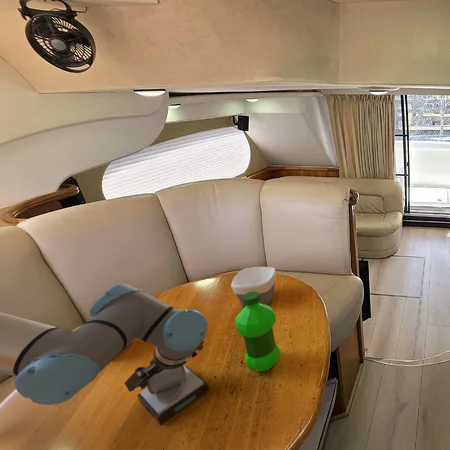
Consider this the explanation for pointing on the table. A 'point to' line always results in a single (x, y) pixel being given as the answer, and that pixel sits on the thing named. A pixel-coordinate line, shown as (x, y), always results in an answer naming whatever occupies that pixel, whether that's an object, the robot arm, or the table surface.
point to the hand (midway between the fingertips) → (162, 371)
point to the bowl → (255, 283)
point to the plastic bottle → (257, 333)
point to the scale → (168, 409)
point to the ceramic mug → (167, 382)
